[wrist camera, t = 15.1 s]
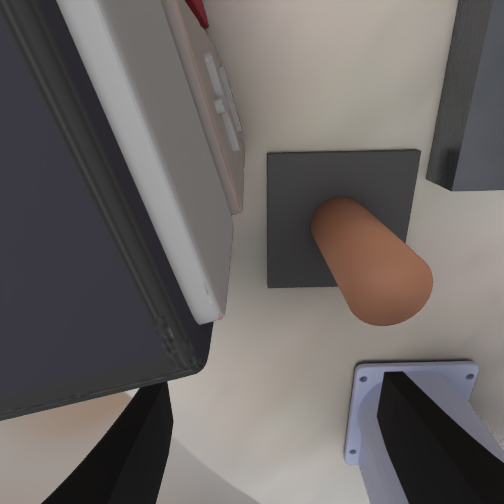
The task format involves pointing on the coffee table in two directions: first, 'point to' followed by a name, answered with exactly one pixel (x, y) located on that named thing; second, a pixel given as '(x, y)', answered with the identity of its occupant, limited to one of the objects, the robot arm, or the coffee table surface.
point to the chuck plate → (472, 103)
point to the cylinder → (370, 263)
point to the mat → (322, 189)
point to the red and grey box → (111, 197)
